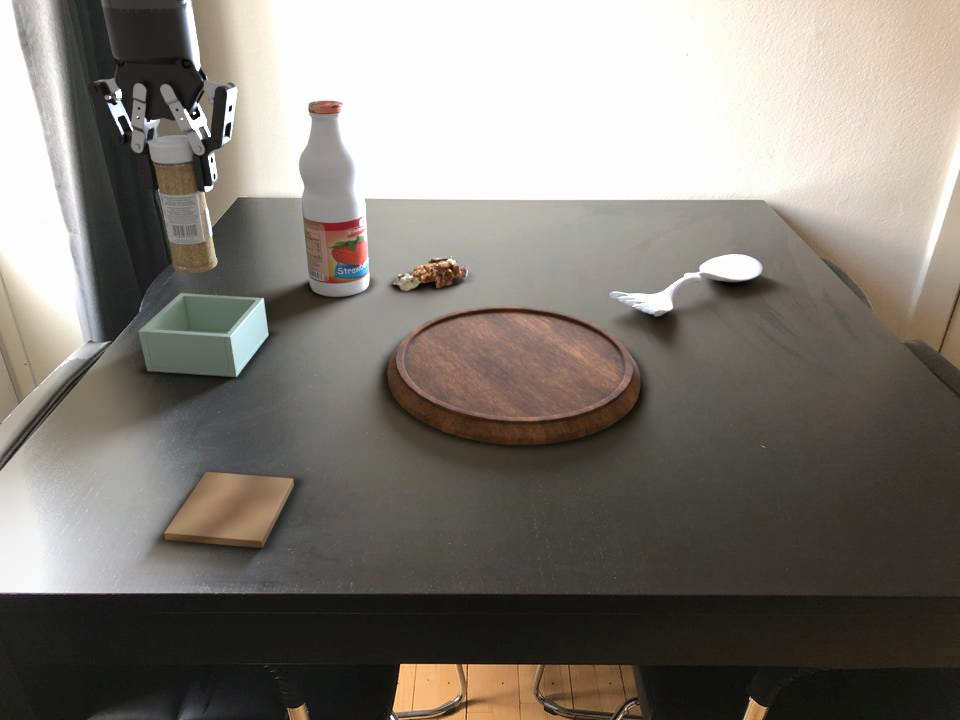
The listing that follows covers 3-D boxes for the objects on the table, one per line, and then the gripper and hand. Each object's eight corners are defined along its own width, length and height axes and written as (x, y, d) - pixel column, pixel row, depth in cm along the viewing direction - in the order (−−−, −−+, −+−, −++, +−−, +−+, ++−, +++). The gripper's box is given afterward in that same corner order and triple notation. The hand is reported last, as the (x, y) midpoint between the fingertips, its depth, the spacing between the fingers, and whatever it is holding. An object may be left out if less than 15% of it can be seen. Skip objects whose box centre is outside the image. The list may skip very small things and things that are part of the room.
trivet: (165, 541, 67) (163, 533, 66) (207, 479, 75) (205, 471, 74) (262, 549, 66) (261, 541, 66) (294, 486, 74) (293, 478, 74)
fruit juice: (329, 271, 123) (314, 95, 110) (380, 280, 120) (371, 100, 107) (298, 292, 115) (277, 105, 102) (351, 302, 112) (337, 111, 99)
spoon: (605, 311, 112) (607, 290, 110) (724, 262, 130) (727, 243, 129) (653, 332, 106) (657, 310, 104) (770, 278, 124) (775, 258, 123)
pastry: (387, 283, 119) (386, 262, 118) (448, 266, 126) (448, 246, 124) (411, 297, 115) (411, 276, 113) (473, 280, 121) (473, 259, 119)
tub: (147, 372, 93) (137, 331, 90) (187, 331, 103) (180, 292, 100) (236, 378, 92) (230, 337, 89) (268, 336, 102) (263, 297, 99)
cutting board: (472, 480, 75) (472, 460, 74) (347, 351, 99) (345, 334, 98) (694, 396, 90) (698, 378, 89) (540, 301, 114) (541, 286, 113)
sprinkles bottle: (225, 261, 81) (205, 135, 74) (205, 276, 77) (182, 145, 70) (186, 257, 81) (163, 132, 75) (164, 273, 77) (137, 142, 71)
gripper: (240, 1, 69) (262, 182, 78) (93, -2, 70) (131, 176, 79) (208, 7, 63) (236, 203, 71) (46, 3, 64) (93, 197, 72)
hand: (181, 188), depth 75 cm, fingers closed on sprinkles bottle, 4 cm apart
